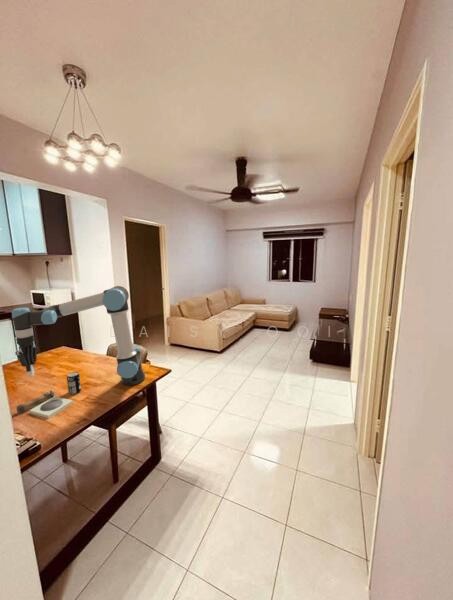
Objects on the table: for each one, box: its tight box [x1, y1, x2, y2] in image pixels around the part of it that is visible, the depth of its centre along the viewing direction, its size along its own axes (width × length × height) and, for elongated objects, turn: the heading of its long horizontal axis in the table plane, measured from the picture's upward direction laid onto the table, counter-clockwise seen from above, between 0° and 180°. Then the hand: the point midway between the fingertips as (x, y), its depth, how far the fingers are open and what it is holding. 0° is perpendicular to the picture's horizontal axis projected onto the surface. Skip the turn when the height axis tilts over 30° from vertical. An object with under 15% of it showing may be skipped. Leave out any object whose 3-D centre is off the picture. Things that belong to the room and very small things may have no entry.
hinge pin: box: [49, 390, 55, 398], centre depth 146 cm, size 3×3×4 cm
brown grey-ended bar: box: [16, 391, 51, 415], centre depth 138 cm, size 15×3×4 cm, turn 150°
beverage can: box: [66, 371, 82, 396], centre depth 151 cm, size 7×7×12 cm
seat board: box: [29, 395, 74, 419], centre depth 137 cm, size 14×14×2 cm
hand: (31, 375), depth 140 cm, fingers closed
